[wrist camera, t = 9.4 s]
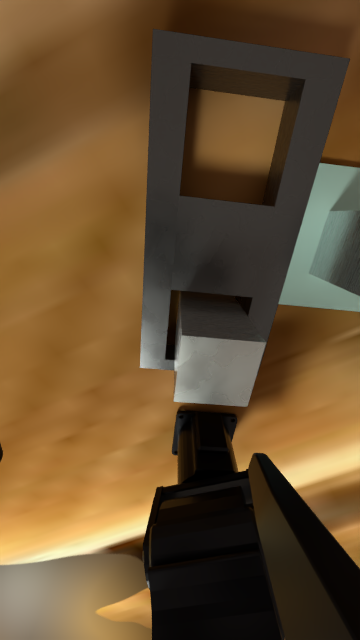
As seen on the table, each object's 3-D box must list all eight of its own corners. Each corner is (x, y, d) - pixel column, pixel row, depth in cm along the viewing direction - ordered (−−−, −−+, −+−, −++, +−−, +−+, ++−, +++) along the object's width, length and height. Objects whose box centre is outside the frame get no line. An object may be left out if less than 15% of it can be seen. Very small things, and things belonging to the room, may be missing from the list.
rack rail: (248, 360, 22) (256, 376, 20) (144, 351, 22) (140, 367, 19) (322, 83, 14) (350, 58, 12) (157, 60, 14) (153, 28, 11)
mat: (365, 310, 20) (368, 312, 20) (275, 302, 20) (277, 304, 19) (426, 178, 16) (432, 177, 16) (315, 164, 16) (319, 162, 15)
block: (223, 341, 21) (247, 406, 14) (175, 337, 21) (173, 401, 14) (233, 295, 20) (266, 342, 12) (180, 290, 19) (181, 335, 12)
